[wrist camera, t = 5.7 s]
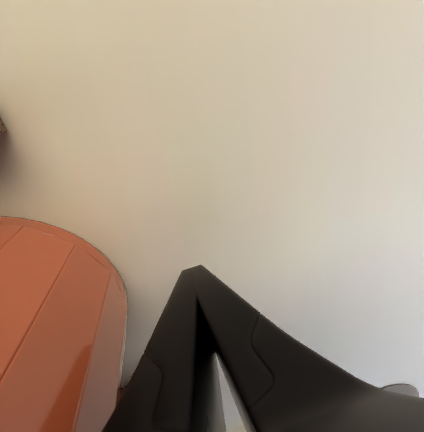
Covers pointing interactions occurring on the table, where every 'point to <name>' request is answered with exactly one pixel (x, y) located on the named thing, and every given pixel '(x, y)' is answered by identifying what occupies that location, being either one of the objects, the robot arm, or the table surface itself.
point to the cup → (58, 330)
